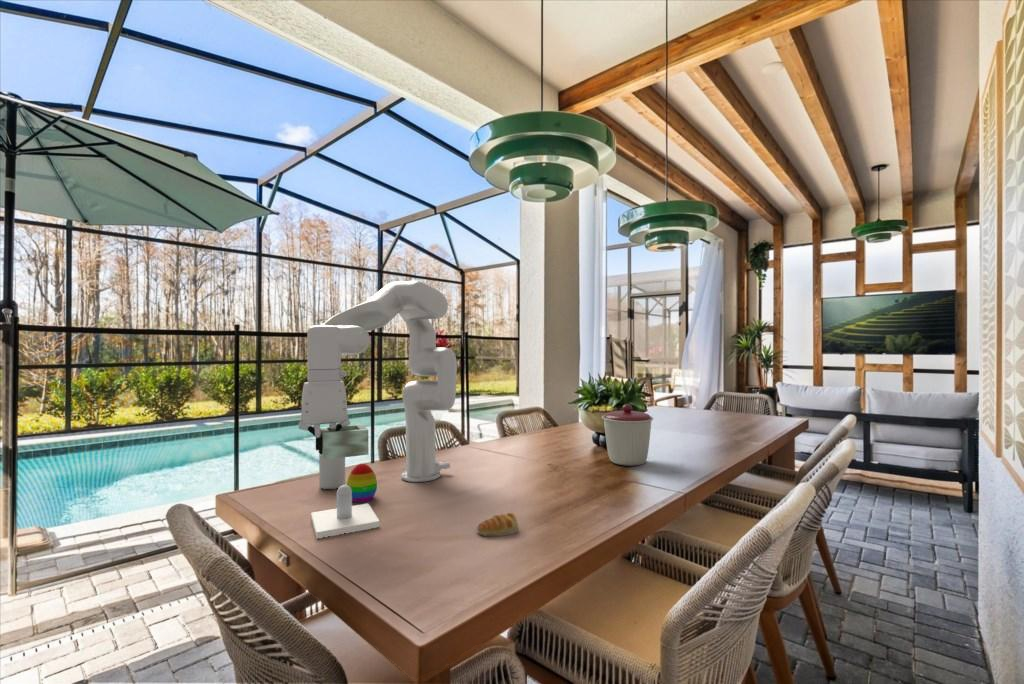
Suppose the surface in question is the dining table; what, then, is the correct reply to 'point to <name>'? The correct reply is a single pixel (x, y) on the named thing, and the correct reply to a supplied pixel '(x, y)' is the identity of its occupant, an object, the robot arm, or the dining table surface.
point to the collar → (344, 442)
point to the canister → (627, 436)
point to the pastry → (499, 525)
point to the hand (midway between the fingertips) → (324, 452)
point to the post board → (344, 525)
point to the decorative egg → (362, 483)
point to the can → (331, 472)
